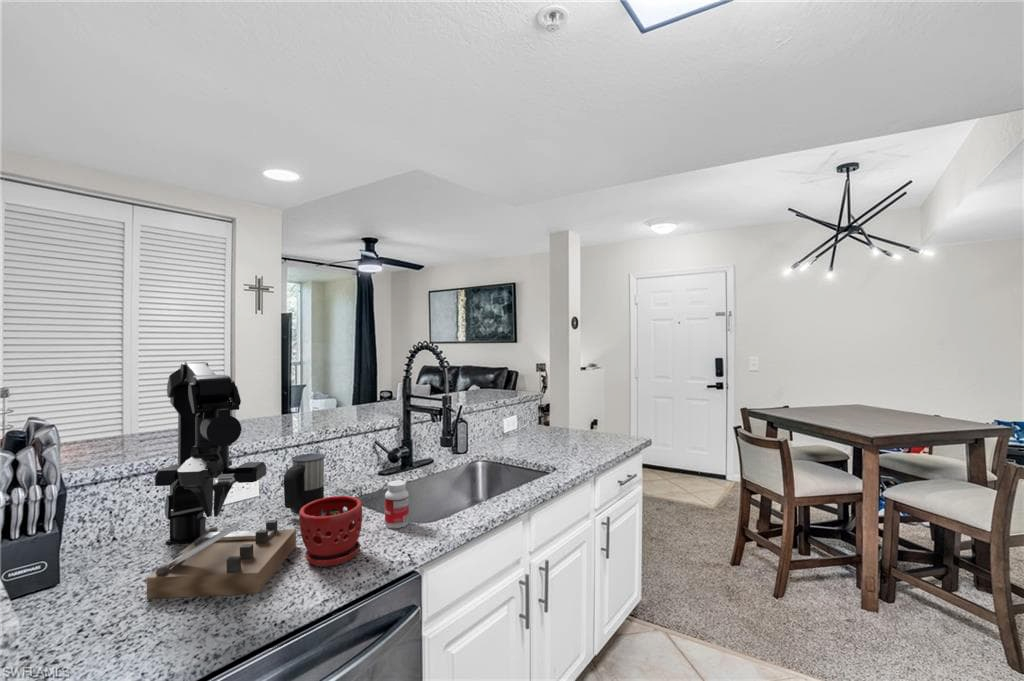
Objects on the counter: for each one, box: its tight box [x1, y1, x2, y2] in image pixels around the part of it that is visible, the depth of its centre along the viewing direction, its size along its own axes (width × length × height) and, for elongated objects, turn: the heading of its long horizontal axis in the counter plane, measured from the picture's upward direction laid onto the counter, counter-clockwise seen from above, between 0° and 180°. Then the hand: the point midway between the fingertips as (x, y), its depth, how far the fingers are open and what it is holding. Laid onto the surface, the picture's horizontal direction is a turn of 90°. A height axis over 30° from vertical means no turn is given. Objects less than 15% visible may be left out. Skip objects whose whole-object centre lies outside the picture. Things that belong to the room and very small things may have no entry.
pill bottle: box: [384, 479, 410, 529], centre depth 126 cm, size 6×6×11 cm
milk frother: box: [283, 453, 345, 513], centre depth 136 cm, size 14×16×15 cm
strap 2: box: [204, 529, 274, 541], centre depth 108 cm, size 14×3×1 cm, turn 96°
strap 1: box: [167, 521, 241, 568], centre depth 95 cm, size 14×3×1 cm, turn 95°
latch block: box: [146, 519, 297, 600], centre depth 101 cm, size 20×21×6 cm
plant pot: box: [298, 495, 363, 567], centre depth 107 cm, size 13×13×12 cm
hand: (212, 516), depth 96 cm, fingers closed
